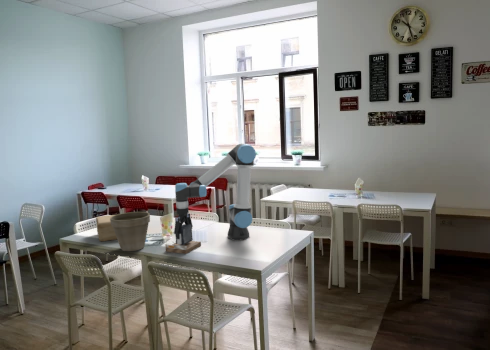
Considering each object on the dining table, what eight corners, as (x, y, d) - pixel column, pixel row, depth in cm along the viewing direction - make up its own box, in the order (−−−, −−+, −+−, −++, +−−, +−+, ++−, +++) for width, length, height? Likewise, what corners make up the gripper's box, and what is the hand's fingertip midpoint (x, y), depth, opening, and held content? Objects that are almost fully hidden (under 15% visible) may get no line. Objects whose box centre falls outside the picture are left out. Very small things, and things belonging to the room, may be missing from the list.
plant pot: (105, 249, 269) (102, 216, 266) (137, 240, 287) (135, 209, 284) (126, 256, 252) (123, 221, 249) (159, 246, 270) (157, 214, 268)
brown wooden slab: (201, 245, 270) (200, 238, 269) (185, 254, 253) (185, 246, 253) (181, 243, 276) (181, 236, 275) (165, 251, 259) (164, 244, 259)
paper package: (133, 229, 320) (132, 211, 318) (138, 237, 296) (137, 218, 294) (96, 234, 309) (95, 215, 308) (98, 242, 286) (97, 223, 284)
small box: (184, 239, 271) (183, 223, 270) (193, 240, 268) (192, 224, 267) (175, 244, 262) (174, 227, 260) (184, 244, 259) (183, 228, 258)
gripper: (187, 203, 274) (189, 236, 277) (166, 211, 253) (168, 246, 256) (196, 204, 271) (198, 237, 274) (177, 211, 250) (179, 247, 253)
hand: (184, 241), depth 265 cm, fingers closed on small box, 10 cm apart
